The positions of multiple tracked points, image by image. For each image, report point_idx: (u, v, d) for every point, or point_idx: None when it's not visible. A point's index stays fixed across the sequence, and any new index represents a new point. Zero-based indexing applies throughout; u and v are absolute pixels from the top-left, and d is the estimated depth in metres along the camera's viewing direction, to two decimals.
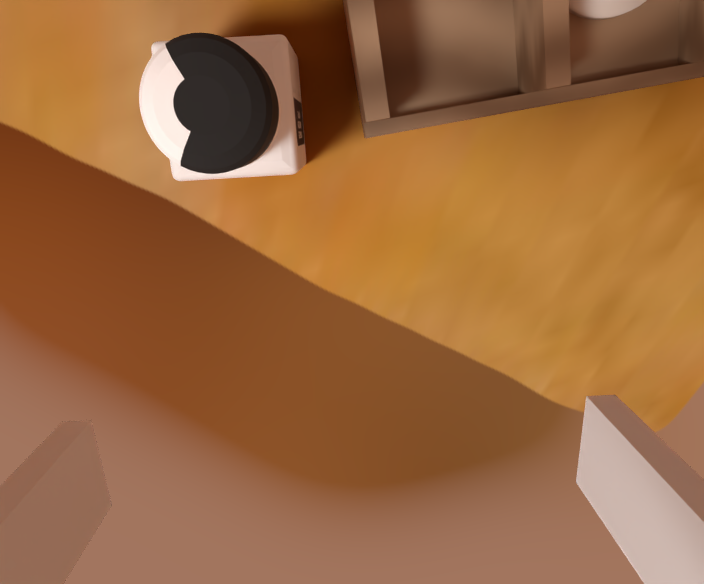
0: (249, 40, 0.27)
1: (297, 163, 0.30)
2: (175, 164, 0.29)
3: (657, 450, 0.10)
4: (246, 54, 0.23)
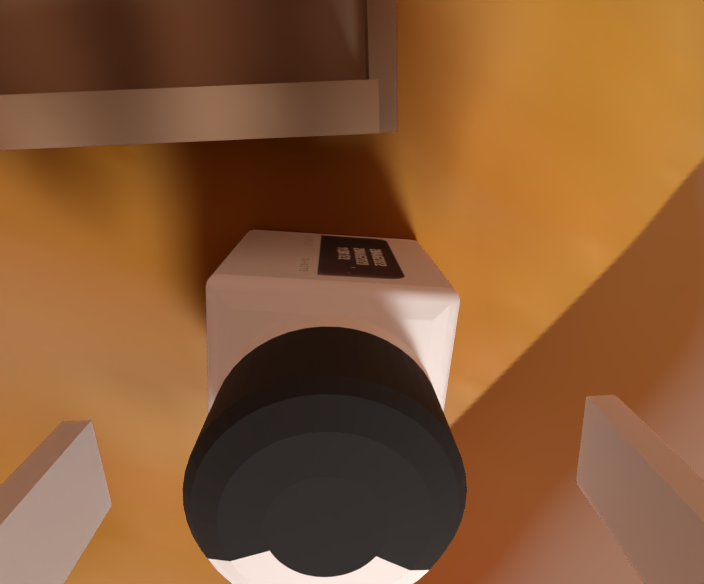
0: (213, 343, 0.15)
1: (441, 289, 0.15)
2: None
3: (657, 450, 0.10)
4: (228, 414, 0.10)
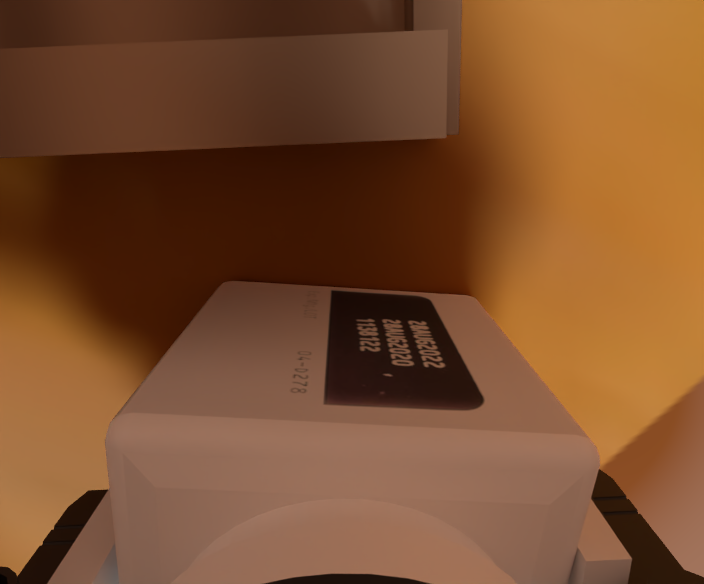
0: (123, 541, 0.08)
1: (565, 440, 0.08)
2: None
3: None
4: None
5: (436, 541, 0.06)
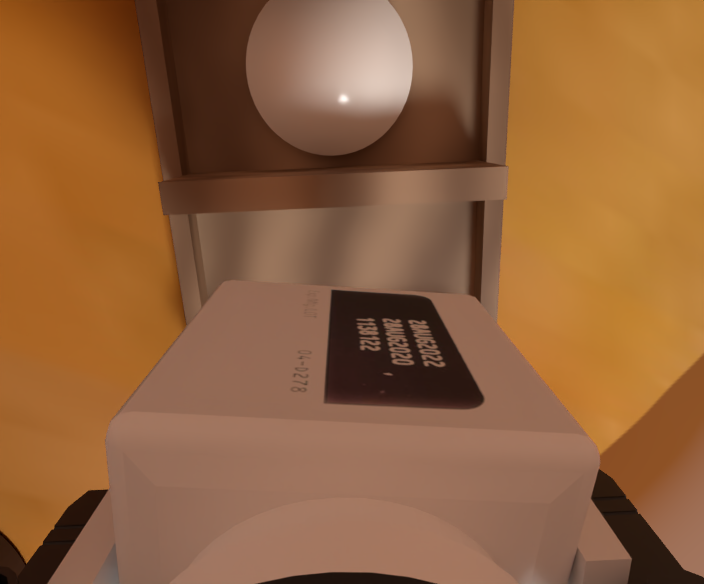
0: (124, 539, 0.08)
1: (565, 439, 0.08)
2: None
3: None
4: None
5: (436, 540, 0.06)
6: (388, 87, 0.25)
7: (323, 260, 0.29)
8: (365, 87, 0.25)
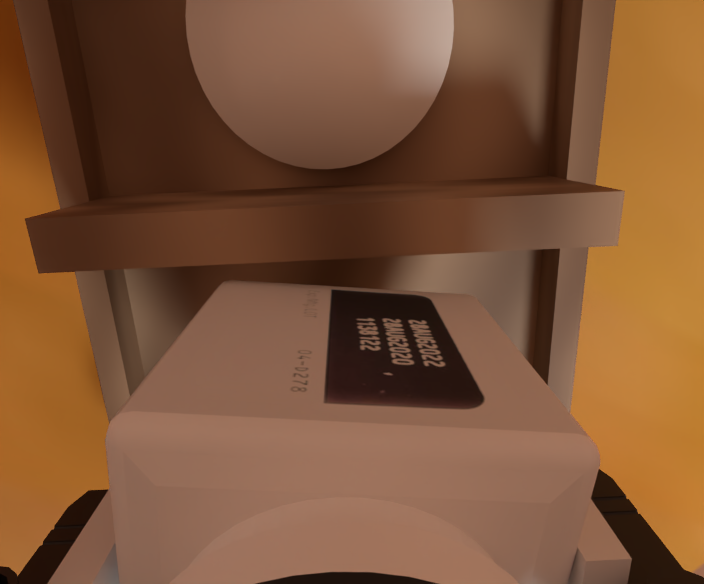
0: (124, 539, 0.08)
1: (565, 439, 0.08)
2: None
3: None
4: None
5: (436, 540, 0.06)
6: (414, 61, 0.16)
7: None
8: (377, 61, 0.16)
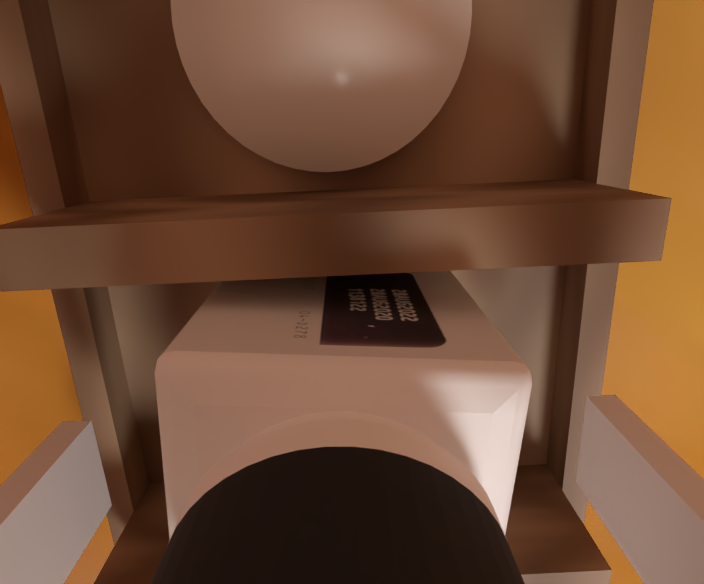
0: (169, 450, 0.10)
1: (505, 365, 0.10)
2: None
3: (657, 450, 0.10)
4: None
5: (402, 432, 0.09)
6: (427, 51, 0.14)
7: None
8: (386, 51, 0.14)
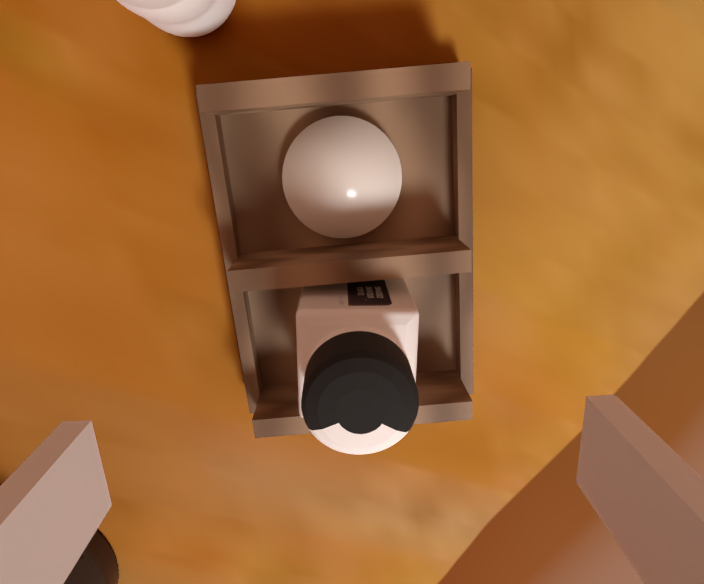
0: (300, 342, 0.30)
1: (409, 309, 0.30)
2: None
3: (657, 450, 0.10)
4: (319, 368, 0.26)
5: (375, 329, 0.29)
6: (384, 189, 0.34)
7: None
8: (368, 190, 0.34)
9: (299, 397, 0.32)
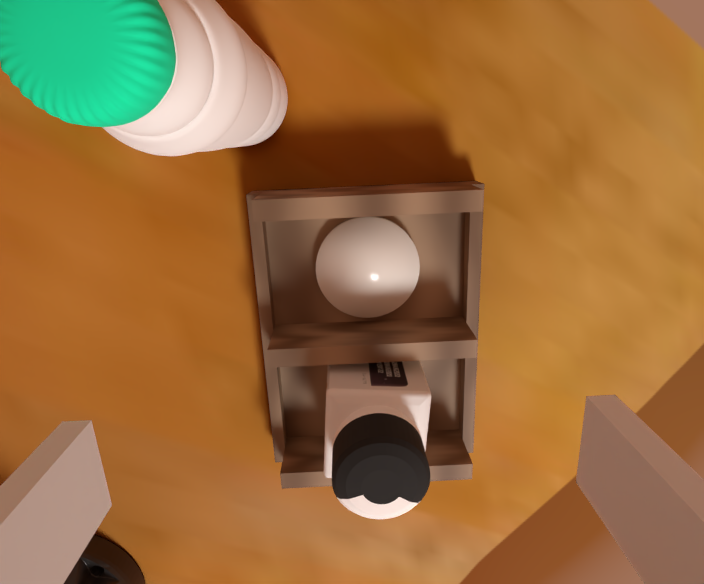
0: (329, 416, 0.36)
1: (423, 392, 0.36)
2: None
3: (657, 450, 0.10)
4: (349, 449, 0.31)
5: (394, 410, 0.34)
6: (404, 279, 0.40)
7: None
8: (389, 279, 0.40)
9: (325, 460, 0.37)
